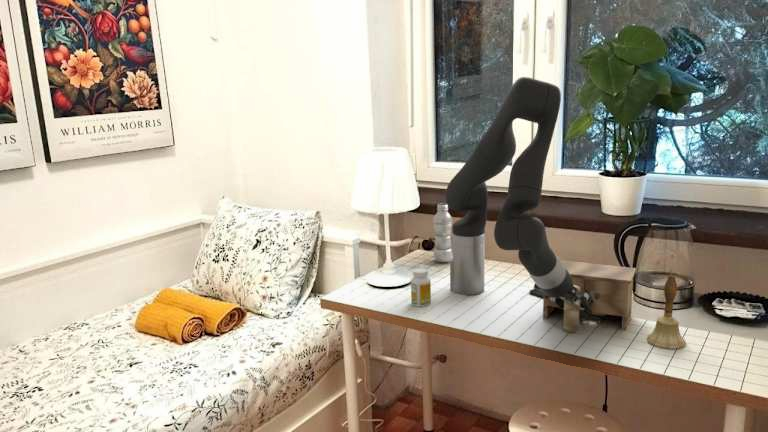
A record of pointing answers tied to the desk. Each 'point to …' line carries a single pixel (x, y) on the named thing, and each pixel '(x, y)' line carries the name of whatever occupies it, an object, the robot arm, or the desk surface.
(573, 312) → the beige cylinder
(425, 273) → the supplement bottle
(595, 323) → the token
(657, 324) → the hand bell
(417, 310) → the desk surface
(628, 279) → the cabinet
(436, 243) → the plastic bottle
